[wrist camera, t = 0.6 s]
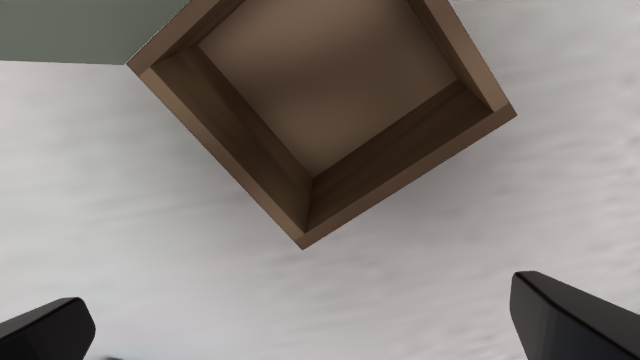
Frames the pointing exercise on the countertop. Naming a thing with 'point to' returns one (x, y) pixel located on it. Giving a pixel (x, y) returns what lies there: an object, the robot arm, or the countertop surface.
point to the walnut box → (323, 98)
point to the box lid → (80, 29)
